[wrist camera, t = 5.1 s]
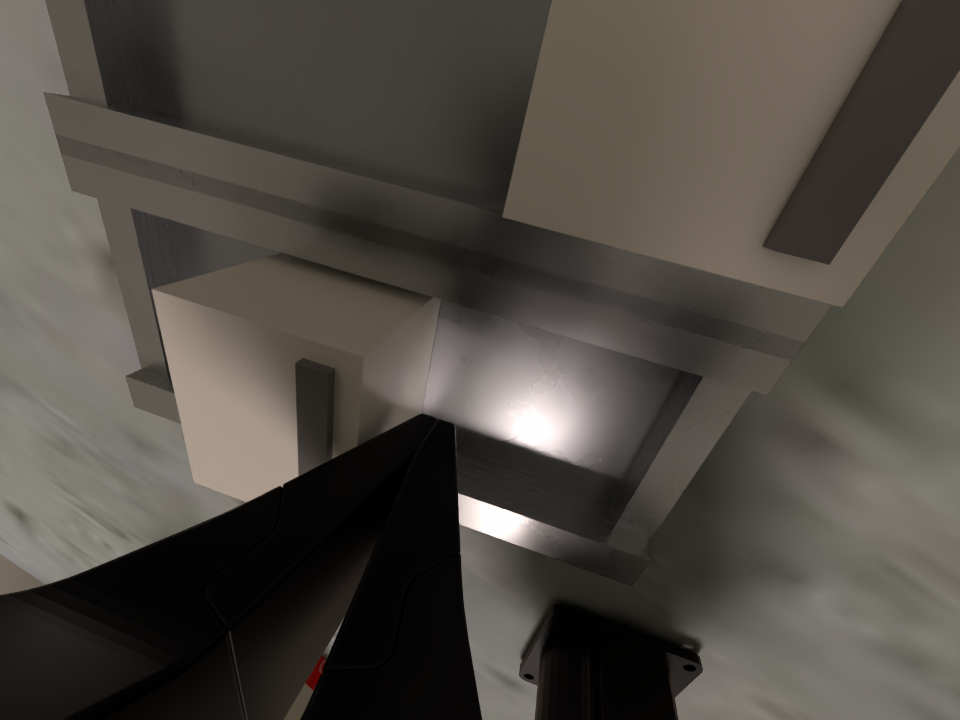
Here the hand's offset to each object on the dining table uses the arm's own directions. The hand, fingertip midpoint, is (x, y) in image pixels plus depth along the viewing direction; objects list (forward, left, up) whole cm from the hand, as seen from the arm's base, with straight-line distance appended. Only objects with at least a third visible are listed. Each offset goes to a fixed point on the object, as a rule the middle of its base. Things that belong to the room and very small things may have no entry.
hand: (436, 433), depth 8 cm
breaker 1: (0, +3, -2) cm, 4 cm away
